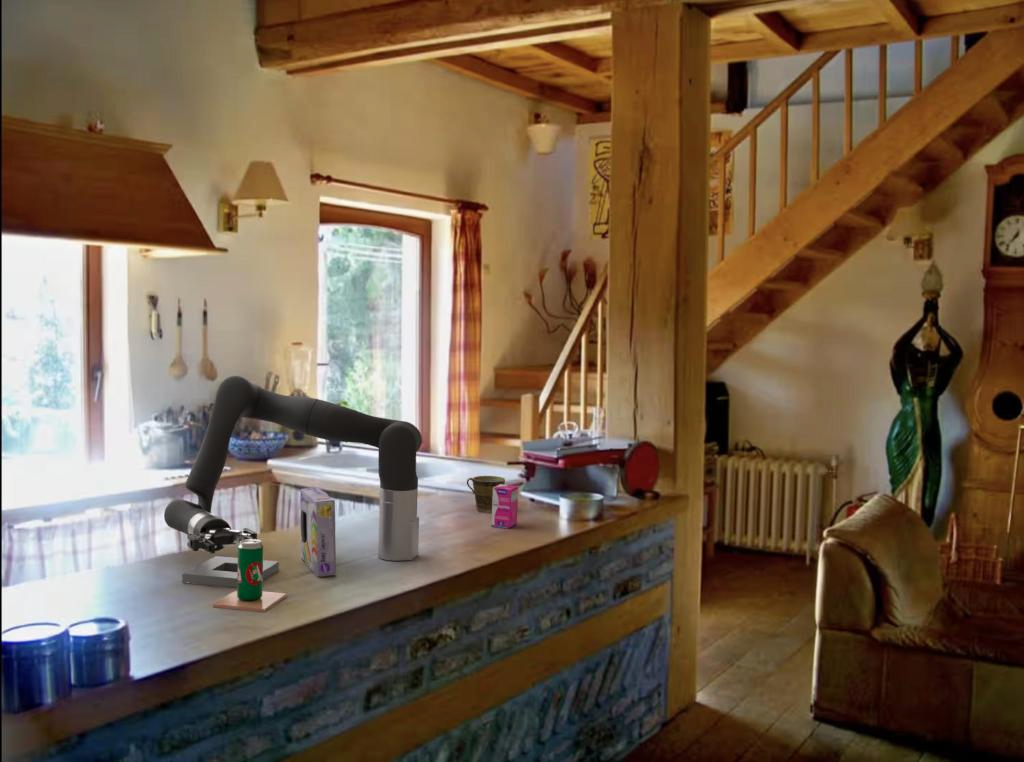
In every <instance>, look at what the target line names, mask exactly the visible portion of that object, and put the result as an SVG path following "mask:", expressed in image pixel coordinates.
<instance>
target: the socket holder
mask: <svg viewBox="0 0 1024 762" xmlns="http://www.w3.org/2000/svg"><path fill="white" fill-rule="evenodd" d="M237 570H238V557H229V556H219V555H216V556H214V557H211V558H210V559H208V560H206V561H204V562H201V563H200V564H198V565H196V566H194V567H192V568H190V569H188V570H186V571H184V572H183V573H182V574H181V582H189V583H188V584H192V583H196V584H195V585H203V586H215V587H227V588H237ZM279 570H280V562H279V560H278V561H277V560H276V561H275V560H264V559H263V581H264V580H266V579H267V578H268V576H269V577H270V576H272V575H273V574H275V573H277V572H278V571H279ZM276 571H277V572H276ZM274 572H275V573H274Z"/></svg>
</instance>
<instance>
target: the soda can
mask: <svg viewBox="0 0 1024 762" xmlns="http://www.w3.org/2000/svg"><path fill="white" fill-rule="evenodd" d="M237 558H238V570H237V589H236V590H237V597H238V598H239V599H240V600H241V601H256V600H259V599H260V598H261V597H262V591H263V584H264V583H263V582H264V580H263V560H264V544H263V543H262V540H260V539H258V538H257V539H246V540H243V539H242V541H240V544H239V546H238V547H237Z"/></svg>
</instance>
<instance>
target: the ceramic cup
mask: <svg viewBox="0 0 1024 762" xmlns="http://www.w3.org/2000/svg"><path fill="white" fill-rule="evenodd" d="M469 481H471V482H472V486H471V485H470V484H469ZM505 483H506V479H505V478H504V477H501V476H495V475H477V476H473V477H469V478H467V480H466V485H467V487H468V488H469V489H470V490H471V491H472V493H473V494H474V498H475V499H474V500H475V505H476V506H475V507H476V511H477V512H479V513H481V514H492V501H493V487H496V486H498V485H500V484H503V485H506V484H505ZM472 487H473V488H472Z"/></svg>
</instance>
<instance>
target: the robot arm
mask: <svg viewBox="0 0 1024 762" xmlns="http://www.w3.org/2000/svg"><path fill="white" fill-rule="evenodd" d="M240 418H245V419H253V420H260V421H265V422H268V423H269V422H270V423H273V424H275V425H276V424H277V425H279V426H282V427H283V428H287V429H289V430H292V431H294V432H298V433H301V434H303V435H307V436H311V437H314V438H317V439H321V440H325V441H332V442H342V443H353V444H355V443H356V444H363V445H368V446H372V447H374V448H378V456H377V457H378V478H379V510H378V512H379V515H378V544H377V545H378V547H377V550H378V551H377V554H378V555H377V556H378V558H380V559H381V560H386V561H395V562H396V561H398V562H399V561H400V562H401V561H413V560H414V559H415V558H416V557H418V555H419V535H420V517H418V490H419V489H418V488H419V477H418V474H417V452H418V451H419V450H420V448H421V446H422V442H423V437H422V434H421V432H420V430H419V428H418V427H416V426H415V424H413V423H412V422H409V421H405V420H398V419H390V418H384V417H379V416H373V415H369V414H367V413H365V412H361V411H358V410H355V409H353V408H349V407H346V406H343V405H340V404H337V403H333V402H331V401H330V402H329V401H328V400H327V401H326V400H323V399H319V398H314V397H308V396H300V395H299V396H298V395H297V396H295V395H284V394H280V393H276V392H273V391H270V390H268V389H265V388H262V387H260V386H258V385H256V384H254V383H253V382H251V381H249V380H248V379H247V378H245V377H242V376H240V375H231V376H229V377H226V378H225V379H224V380H222V381H221V382H220V384H219V386H218V388H217V390H216V393H215V397H214V402H213V406H212V411H211V413H210V418H209V421H208V425H207V428H206V431H205V434H204V437H203V440H202V443H201V445H200V447H199V451H198V453H197V455H196V458H195V460H194V462H193V465H192V467H191V469H190V471H189V475H188V476H187V479H186V481H185V488H186V489H187V490H188V491H190V492H191V493H193V494H195V495H196V496H197V499H198V504H196V503H194V502H191V501H189V500H185V499H182V498H177V499H174V500H172V501H170V502H169V503H168V504H167V506H166V507H165V509H164V513H163V514H164V515H163V516H164V517H163V519H164V522H165V523H166V525H167V526H168V527H169V528H171V529H174V530H176V531H179V532H181V533H183V534H185V535H186V536H187V538H186V541H187V543H186V544H187V547H188V548H189V549H190V550H191V551H192V552H197V551H199V549H200V550H201V551H202V552H207V553H209V554H211V555H214V554H216V552H217V551H221V550H223V549H224V548H226V547H233V548H234V547H235V548H238V546H239V544H240V541H242V540H246V539H258V533H257V532H256V531H254V530H252V529H250V528H247V527H245V528H242V531H241V530H237V529H232V527H231V525H230V524H229V523H228V522H227V521H226V520H224V519H223V518H221V517H220V516H218V515H216V514H214V513H212V507H213V499H214V494H215V490H216V488H217V485H218V484H219V481H220V478H221V476H222V474H223V471H224V468H225V465H226V461H227V457H228V452H229V446H230V441H231V438H232V435H233V432H234V429H235V426H236V425H237V422H238V420H239V419H240Z"/></svg>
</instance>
